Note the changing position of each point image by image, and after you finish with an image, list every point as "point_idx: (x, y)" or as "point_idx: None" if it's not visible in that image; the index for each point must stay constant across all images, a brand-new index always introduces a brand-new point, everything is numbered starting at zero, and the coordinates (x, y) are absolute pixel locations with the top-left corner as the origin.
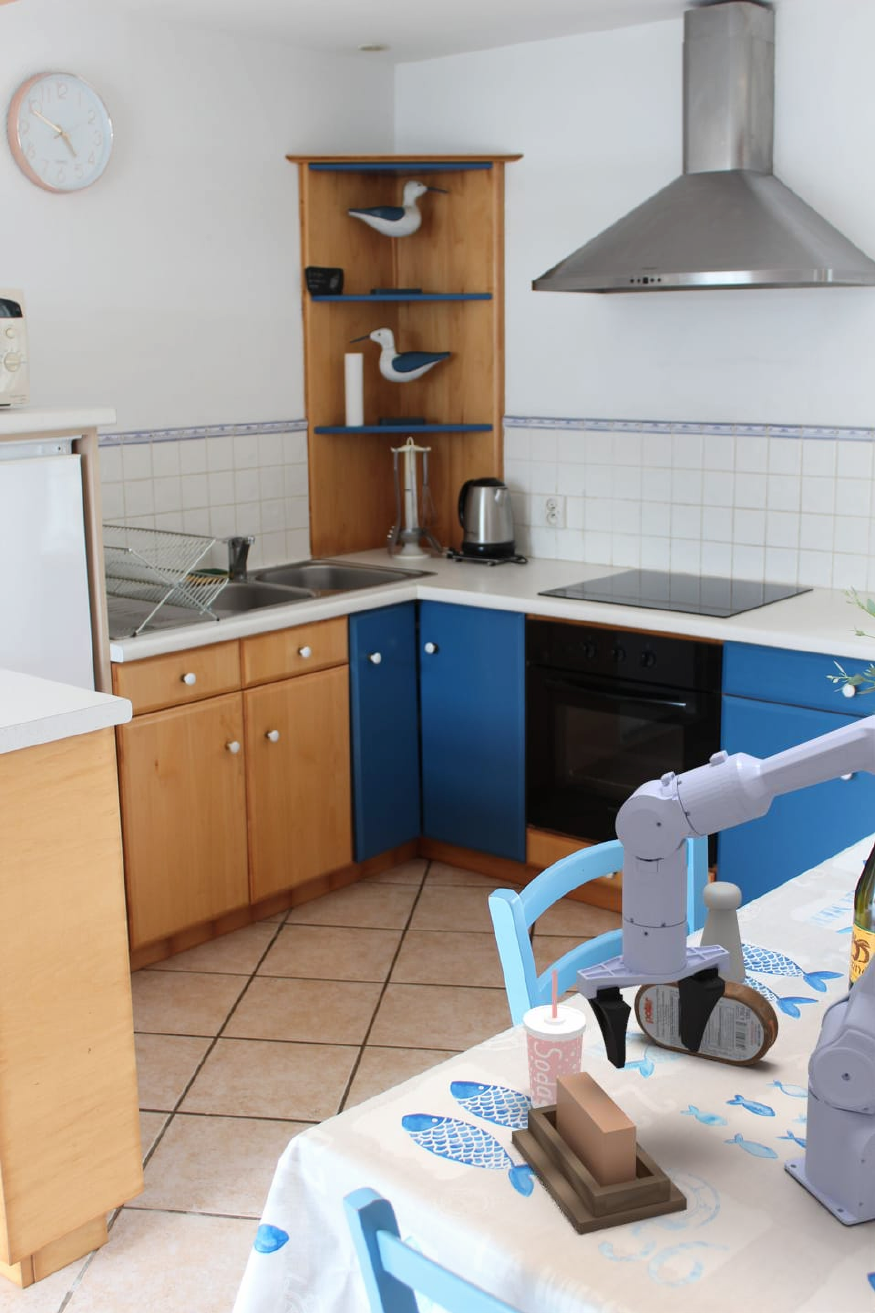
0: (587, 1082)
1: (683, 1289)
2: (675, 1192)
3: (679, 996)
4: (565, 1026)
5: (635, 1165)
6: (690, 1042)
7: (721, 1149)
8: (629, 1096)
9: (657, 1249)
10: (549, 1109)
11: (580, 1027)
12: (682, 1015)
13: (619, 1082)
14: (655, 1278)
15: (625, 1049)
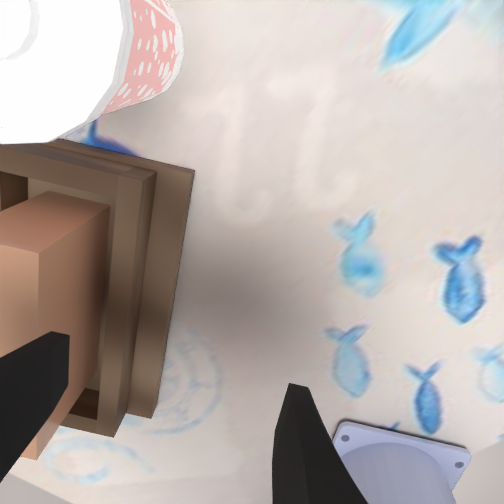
0: (18, 294)
1: (66, 485)
2: (144, 403)
3: (306, 496)
4: (11, 85)
5: (77, 398)
6: (276, 443)
7: (303, 341)
8: (292, 115)
9: (76, 434)
10: (21, 168)
11: (54, 134)
12: (295, 454)
13: (316, 47)
14: (47, 461)
15: (29, 441)
